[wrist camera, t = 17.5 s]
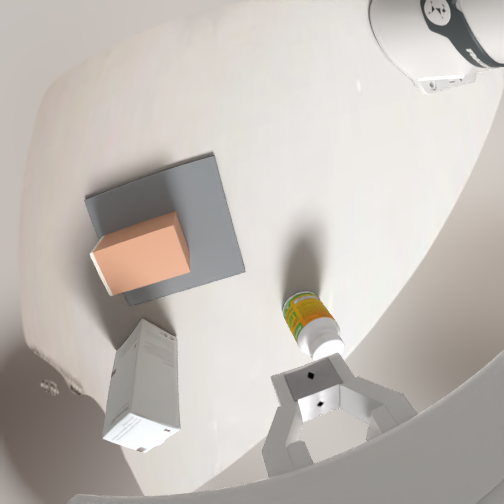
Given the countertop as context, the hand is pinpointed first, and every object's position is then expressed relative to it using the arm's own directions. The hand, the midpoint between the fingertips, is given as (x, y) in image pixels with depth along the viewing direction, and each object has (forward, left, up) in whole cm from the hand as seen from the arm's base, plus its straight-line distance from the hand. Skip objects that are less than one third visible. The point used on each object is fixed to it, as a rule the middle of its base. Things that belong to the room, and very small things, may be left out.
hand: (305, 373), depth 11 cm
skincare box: (+16, +14, -23) cm, 32 cm away
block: (+5, 0, -20) cm, 21 cm away
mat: (+7, 0, -23) cm, 24 cm away
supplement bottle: (-6, +15, -23) cm, 28 cm away
